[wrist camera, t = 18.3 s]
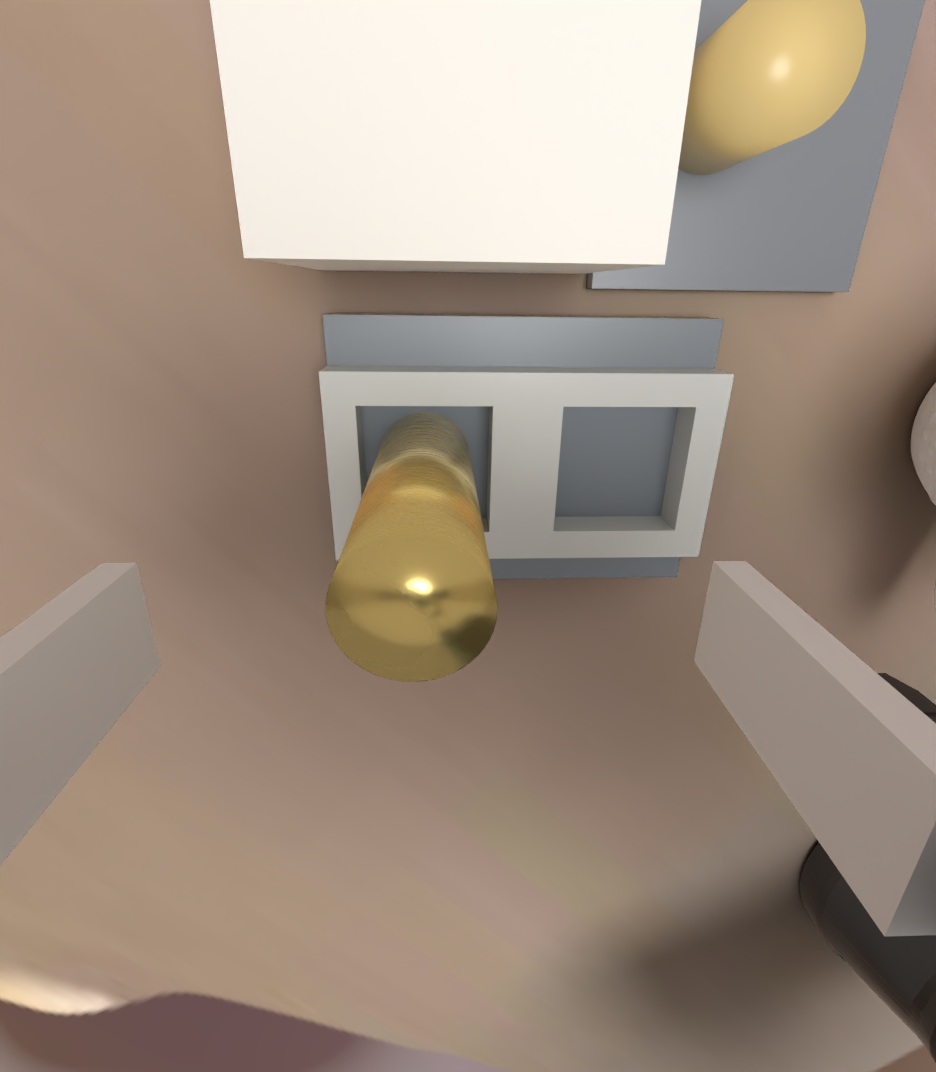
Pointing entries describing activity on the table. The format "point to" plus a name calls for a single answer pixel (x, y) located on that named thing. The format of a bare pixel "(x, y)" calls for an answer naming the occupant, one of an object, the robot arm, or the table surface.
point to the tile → (789, 185)
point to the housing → (455, 131)
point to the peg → (415, 559)
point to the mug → (926, 445)
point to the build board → (587, 433)
